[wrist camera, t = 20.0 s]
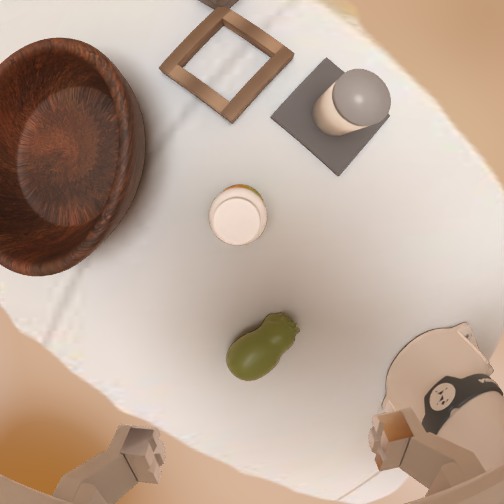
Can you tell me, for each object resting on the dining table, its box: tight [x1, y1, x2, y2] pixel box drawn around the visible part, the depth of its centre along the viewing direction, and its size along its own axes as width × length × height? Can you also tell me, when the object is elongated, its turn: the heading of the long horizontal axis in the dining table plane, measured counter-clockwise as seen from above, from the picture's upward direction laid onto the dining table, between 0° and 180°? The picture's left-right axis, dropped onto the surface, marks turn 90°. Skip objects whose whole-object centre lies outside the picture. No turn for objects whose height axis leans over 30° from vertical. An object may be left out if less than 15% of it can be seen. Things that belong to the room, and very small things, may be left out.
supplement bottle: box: [209, 184, 267, 245], centre depth 31 cm, size 5×5×10 cm
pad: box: [270, 57, 390, 176], centre depth 33 cm, size 10×10×1 cm
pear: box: [226, 312, 300, 381], centre depth 38 cm, size 6×5×10 cm
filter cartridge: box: [312, 69, 391, 136], centre depth 28 cm, size 5×5×10 cm
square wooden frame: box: [159, 0, 294, 124], centre depth 29 cm, size 14×14×4 cm
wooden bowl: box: [0, 38, 145, 276], centre depth 29 cm, size 25×25×10 cm
